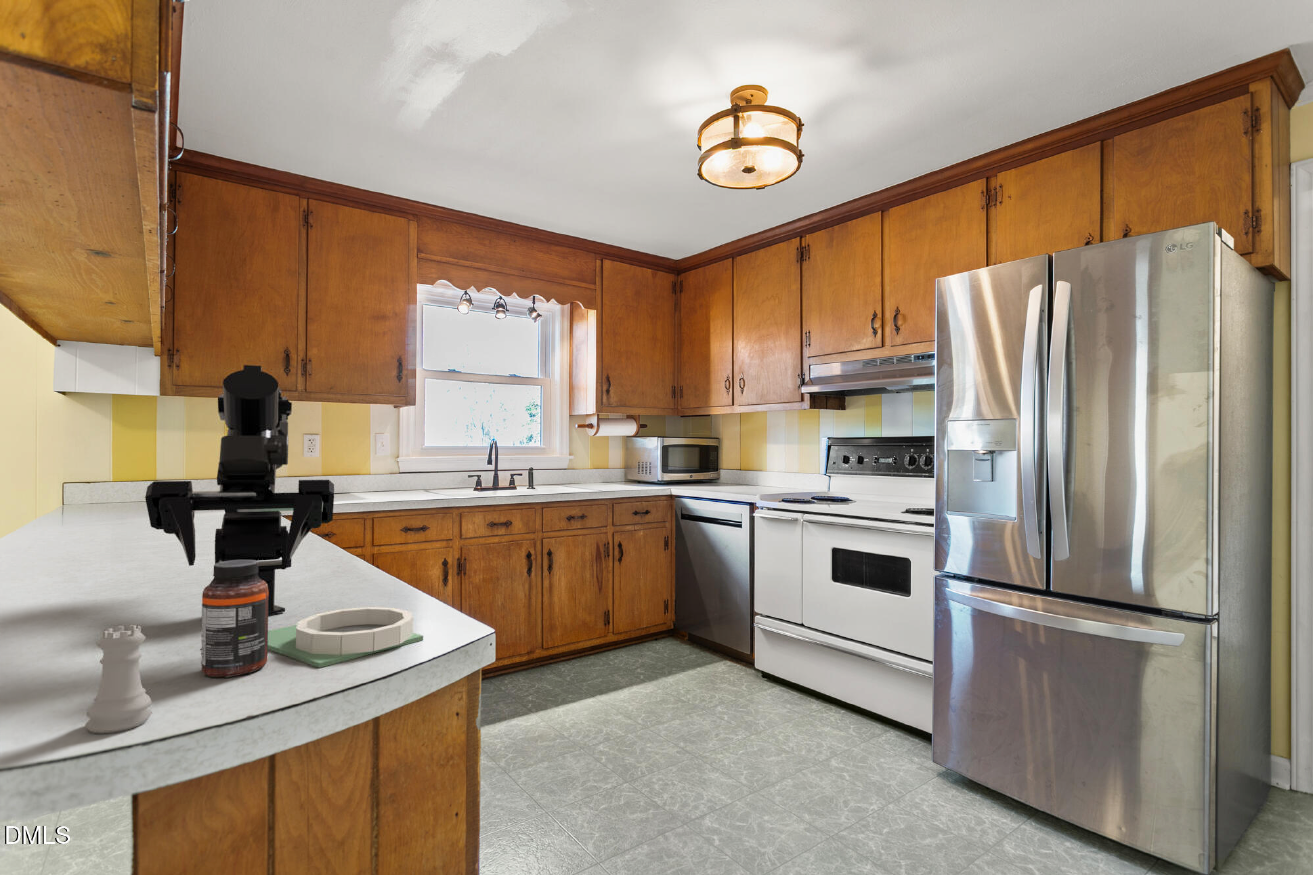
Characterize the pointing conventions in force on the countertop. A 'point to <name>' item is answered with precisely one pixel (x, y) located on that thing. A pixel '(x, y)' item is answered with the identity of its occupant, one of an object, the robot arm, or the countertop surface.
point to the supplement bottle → (234, 620)
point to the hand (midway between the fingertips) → (240, 560)
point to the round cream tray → (353, 630)
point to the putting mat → (286, 645)
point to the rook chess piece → (119, 684)
